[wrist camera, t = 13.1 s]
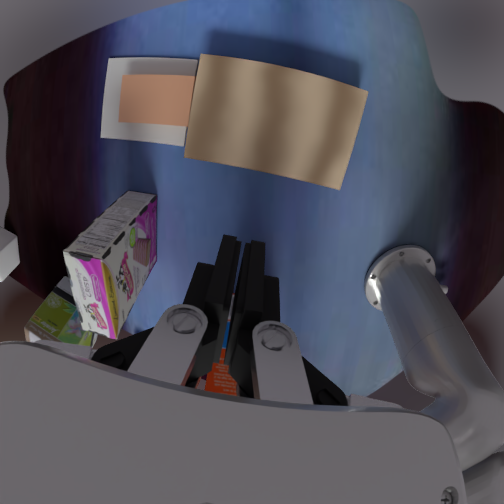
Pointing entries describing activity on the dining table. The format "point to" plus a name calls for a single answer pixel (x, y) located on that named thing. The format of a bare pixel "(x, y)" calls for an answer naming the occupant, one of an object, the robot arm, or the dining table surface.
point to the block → (156, 99)
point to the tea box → (59, 319)
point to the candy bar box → (113, 262)
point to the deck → (273, 119)
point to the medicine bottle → (8, 253)
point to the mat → (113, 91)
